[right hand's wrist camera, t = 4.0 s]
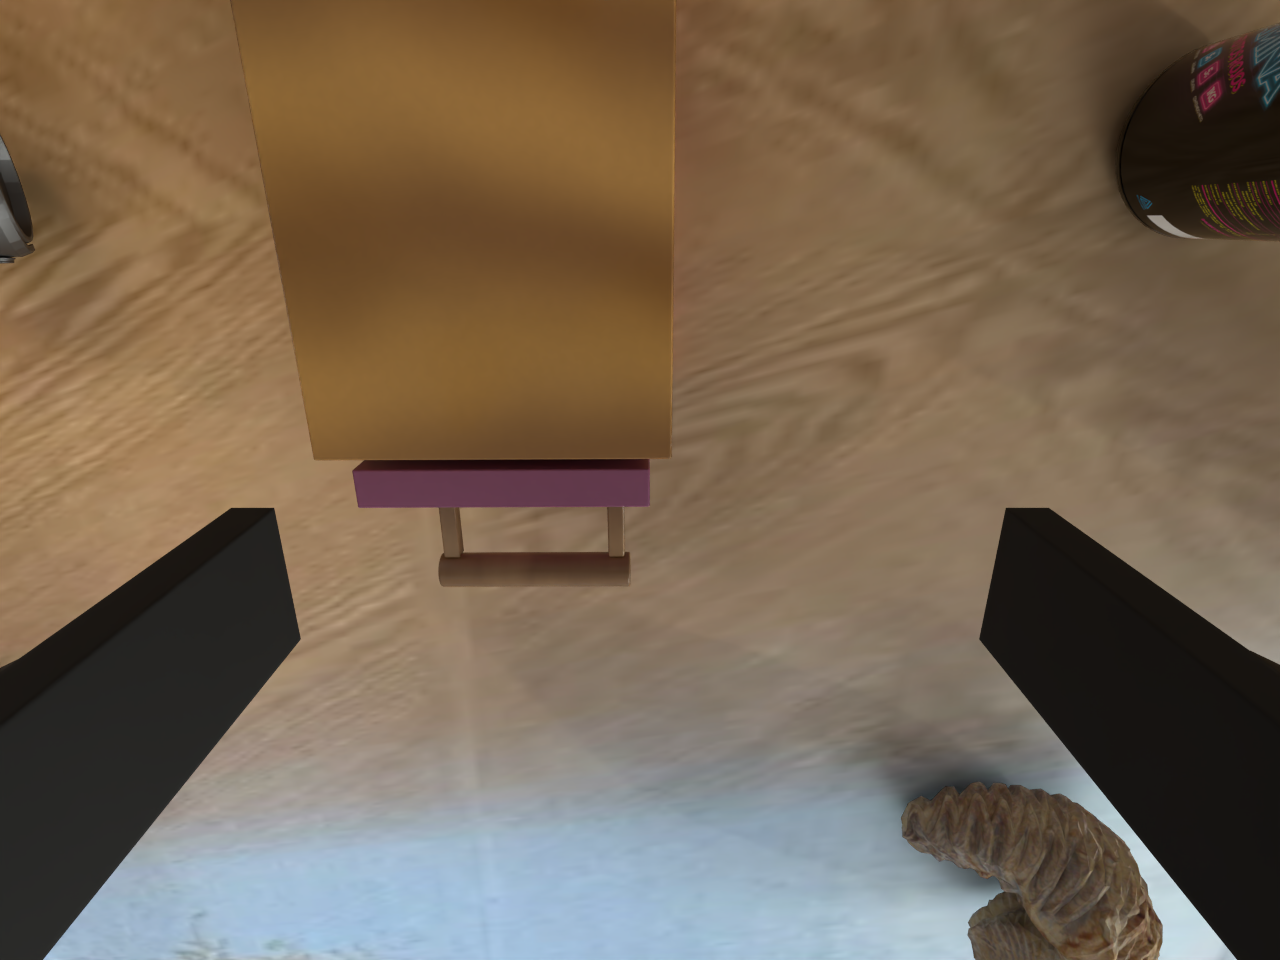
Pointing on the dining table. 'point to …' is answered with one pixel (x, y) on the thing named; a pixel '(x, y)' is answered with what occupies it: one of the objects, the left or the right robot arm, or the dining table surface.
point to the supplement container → (1208, 143)
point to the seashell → (1040, 874)
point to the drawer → (514, 488)
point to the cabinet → (472, 221)
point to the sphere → (13, 212)
